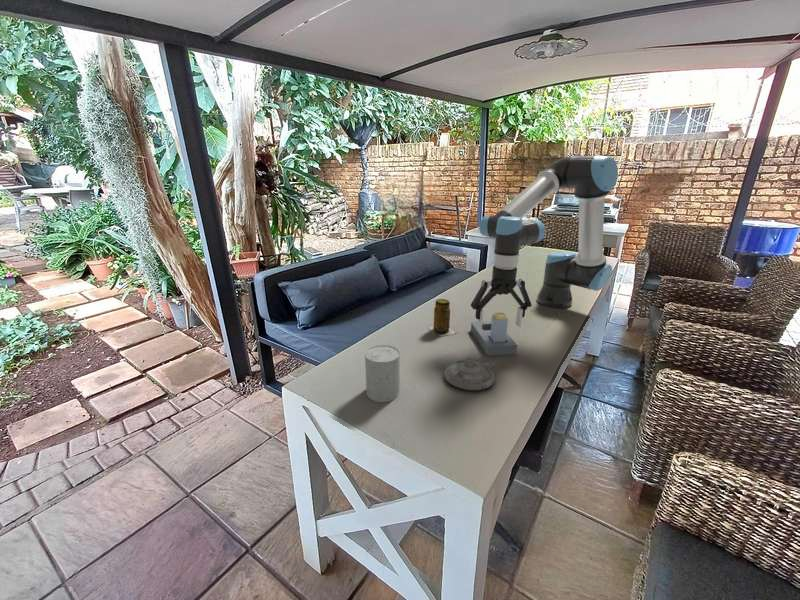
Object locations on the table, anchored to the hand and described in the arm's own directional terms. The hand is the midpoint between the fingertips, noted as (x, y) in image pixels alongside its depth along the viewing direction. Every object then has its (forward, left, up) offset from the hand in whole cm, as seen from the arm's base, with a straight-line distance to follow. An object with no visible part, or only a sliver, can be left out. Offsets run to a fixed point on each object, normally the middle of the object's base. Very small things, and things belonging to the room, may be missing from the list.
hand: (498, 326), depth 125 cm
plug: (0, 0, -8) cm, 8 cm away
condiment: (+16, -16, -8) cm, 24 cm away
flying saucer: (+15, +18, -9) cm, 25 cm away
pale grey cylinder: (+41, +22, -8) cm, 47 cm away
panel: (0, -5, -8) cm, 10 cm away
